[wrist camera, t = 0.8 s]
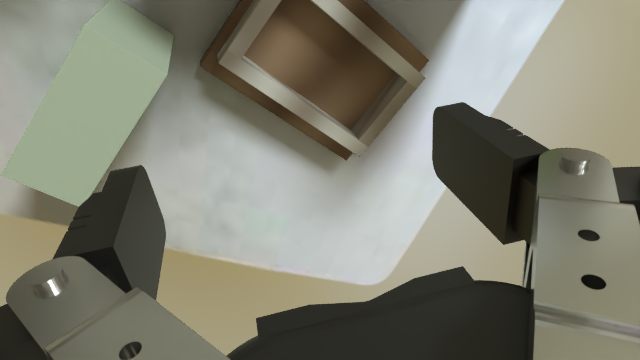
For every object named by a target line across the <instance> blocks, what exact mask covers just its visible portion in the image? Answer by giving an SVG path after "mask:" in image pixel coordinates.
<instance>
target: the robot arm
mask: <svg viewBox="0 0 640 360" xmlns="http://www.w3.org/2000/svg"><path fill="white" fill-rule="evenodd" d="M432 160H433V166H434V170H435V172H436V175H437V176H438V178H439V179H440V180H441V181H442V182H443V183H444V184H445V185H446V186H447V187H448V188H449V189H450V190H451V191H452V192H453V193H454V194H455V195H456V196H457V198H459V200H460V201H461V202H462V203H463V204H464V205H465V206H466V207H467V208H468V209H469V210H470V211H471V212H472V213H473V214H474V215H475V216H476V217H477V218H478V219H479V220H480V221H481V222H482V223H483V224H484V225H485V226H486V227H487V228H488V229H489V230H490V231H491V232H492V233H493V234H494V236H496V237H497V239H498V240H499V241H500V242H501V243H502V244H503V245H505V244H509V243H513V242H517V241H521V240H525V241H526V247H525V253H524V264H523V275H522V286H519V285H514V284H509V283H504V282H497V281H482V280H477V281H474V280H473V279H472V277H471V276H470V275H469V274H468V272H467V271H466V270H465V268H464V267H463V266H462V267H458V268H454V269H451V270H446V271H442V272H438V273H434V274H430V275H426V276H422V277H418V278H414V279H412V280H410V281H408V282H406V283H405V284H402V285H400V286H398V287H396V288H394V289H392V290H390V291H388V292H386V293H384V294H382V295H380V296H378V297H376V298H374V299H372V300H370V301H366V302H355V303H336V304H316V305H307V306H303V307H299V308H295V309H291V310H287V311H283V312H279V313H275V314H271V315H267V316H263V317H259V318H256V322H257V330H258V336H256V337H254V338H252V339H250V340H248V341H247V342H245V343H244V344H242V345H240V346H239V347H237V348H236V349H235V350H233V351H232V352H231V353H229V354H228V355H227V356H225V355H224V354H223V353H222V352H220V351H219V350H218V349H216V348H215V347H214V346H213V345H211V344H210V343H209V342H207V341H206V340H205V339H203V338H202V337H201V336H200V335H199V334H197V333H196V332H195V331H193V330H192V329H191V328H190V327H188V326H187V325H186V324H185V323H183V322H182V321H181V320H180V319H178V318H177V317H176V316H174V315H173V314H172V313H171V312H169V311H168V310H167V309H166V308H164V307H163V306H162V305H160V304H159V303H158V302H157V301H156V296H157V290H158V283H159V277H160V271H161V265H162V258H163V252H164V246H165V239H166V231H165V224H164V220H163V216H162V213H161V210H160V208H159V205H158V202H157V199H156V197H155V194H154V191H153V188H152V186H151V183H150V180H149V177H148V175H147V172H146V170H145V168H144V167H143V166H142V165H139V166H134V167H129V168H124V169H119V170H114V171H111V172H110V174H109V176H108V178H107V181H106V183H105V185H104V187H103V189H102V192H99V193H94V194H92V195H91V196H90V197H89V198H88V199H87V200H86V201H85V202H83V203H82V204H81V205H80V206H79V208H78V210H77V212H76V214H75V216H74V218H73V220H74V221H72V222H71V224H70V226H69V228H68V231H67V232H66V234H65V236H64V238H63V240H62V242H61V244H60V246H59V248H58V249H57V251H56V254H55V255H54V257H53V259H52V260H50V261H47V262H45V263H42V264H40V265H38V266H36V267H34V268H32V269H31V270H29V271H28V272H26V273H25V274H23V275H22V276H21V277H20V278H18V279H17V280H16V281H15V282H14V283H13V285H12V286H11V287H10V289H9V290H8V292H7V295H6V301H7V304H6V305H3V306H1V307H0V360H640V167H620V168H612V165H611V163H610V161H609V160H608V159H606V158H605V157H603V156H602V155H600V154H597V153H595V152H592V151H588V150H583V149H577V148H557V149H552V150H549V149H548V148H546V147H544V146H543V145H541V144H539V143H538V142H536V141H534V140H533V139H531V138H530V137H528V136H526V135H523V133H521V132H520V131H518V130H516V129H513V127H511V126H510V125H508V124H506V123H505V122H503V121H501V120H498V119H495V118H492V117H488V116H485V115H483V114H482V113H480V112H478V111H477V110H475V109H474V108H472V107H470V106H469V105H467V104H466V103H463V102H461V103H456V104H451V105H446V106H441V107H437V108H436V109H435V111H434V114H433V150H432Z"/></svg>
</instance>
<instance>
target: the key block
mask: <svg viewBox="0 0 640 360" xmlns="http://www.w3.org/2000/svg"><path fill="white" fill-rule="evenodd" d="M173 39H174V35H173V34H171V33H170V32H168V31H167V30H165V29H164V28H162V27H161V26H159V25H158V24H156V23H155V22H153V21H152V20H150V19H149V18H147V17H146V16H144V15H143V14H141V13H140V12H138V11H136V10H135V9H133V8H132V7H130V6H129V5H127V4H126V3H124V2H123V1H121V0H110V1H109V2H108V3H107V4H106V5H105V6H104V7H103V8H102V9H101V10H99V11H98V12H97V13H96V14H95V15H94V16H93V17H92V18H91V19H90V20H89V21H88V22H87V23H85V25H84V26H83V28H82V30H81V32H80V34H79V35H78V37H77V39H76V41H75V43H74V44H73V46H72V48H71V50H70V52H69V53H68V55H67V57H66V59H65V61H64V62H63V64H62V66H61V68H60V70H59V71H58V73H57V75H56V77H55V79H54V81H53V82H52V84H51V86H50V88H49V90H48V91H47V93H46V95H45V97H44V99H43V100H42V102H41V104H40V106H39V108H38V109H37V111H36V113H35V115H34V117H33V118H32V120H31V122H30V124H29V126H28V127H27V129H26V131H25V133H24V135H23V136H22V138H21V140H20V142H19V144H18V145H17V147H16V149H15V151H14V153H13V154H12V156H11V158H10V160H9V162H8V163H7V165H6V167H5V169H4V171H3V173H2V174H1V176H3V177H6V178H8V179H11V180H13V181H16V182H18V183H21V184H23V185H26V186H28V187H31V188H33V189H36V190H38V191H41V192H43V193H45V194H48V195H50V196H53V197H55V198H58V199H60V200H63V201H65V202H68V203H70V204H73V205H75V206H78V207H79V206H80V205H81V204H82V203H83V202H85V201H86V200H87V199H88V198H89V197H90V195H91V194H92V192H93V191H94V189H95V188H96V186H97V185H98V183H99V181H100V180H101V178H102V177H103V175H104V174H105V172H106V170H107V169H108V167H109V166H110V164H111V163H112V161H113V159H114V158H115V156H116V155H117V153H118V152H119V150H120V148H121V147H122V145H123V144H124V142H125V141H126V139H127V137H128V136H129V134H130V133H131V131H132V130H133V128H134V126H135V125H136V123H137V122H138V120H139V119H140V117H141V115H142V114H143V112H144V111H145V109H146V108H147V106H148V105H149V103H150V101H151V100H152V98H153V97H154V95H155V94H156V92H157V90H158V89H159V87H160V86H161V84H162V83H163V81H164V79H165V78H166V76H167V75H168V69H169V63H170V57H171V51H172V45H173Z"/></svg>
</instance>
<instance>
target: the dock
mask: <svg viewBox="0 0 640 360" xmlns="http://www.w3.org/2000/svg"><path fill="white" fill-rule="evenodd" d="M428 61H429V60H428V59H427V58H426V57H425V56H424V55H423V54H422V53H420V52H419V51H418V50H417V49H416V48H415V47H414V46H413V45H412V44H411V43H410V42H408V41H407V40H406V39H405V38H404V37H403V36H402V35H401V34H400V33H399V32H398V31H397V30H395V29H394V28H393V27H392V26H391V25H390V24H389V23H388V22H387V21H386V20H385V19H383V18H382V17H381V16H380V15H379V14H378V13H377V12H376V11H375V10H374V9H373V8H371V7H370V6H369V5H368V4H367V3H366V2H365V1H364V0H240V1H239V3H238V4H237V6H236V7H235V9H234V10H233V12H232V13H231V15H230V16H229V18H228V20H227V21H226V23H225V24H224V26H223V27H222V29H221V30H220V32H219V33H218V35H217V36H216V38H215V39H214V41H213V42H212V44H211V45H210V47H209V48H208V50H207V52H206V53H205V55H204V56H203V58H202V59H201V61H200V66H201V67H203V68H204V69H206V70H207V71H209V72H210V73H212V74H213V75H215V76H217V77H218V78H220V79H221V80H223V81H224V82H226V83H227V84H229V85H230V86H232V87H234V88H235V89H237V90H238V91H240V92H241V93H243V94H244V95H246V96H248V97H249V98H251V99H252V100H254V101H255V102H257V103H258V104H260V105H261V106H263V107H265V108H266V109H268V110H269V111H271V112H272V113H274V114H275V115H277V116H279V117H280V118H282V119H283V120H285V121H286V122H288V123H289V124H291V125H292V126H294V127H296V128H297V129H299V130H300V131H302V132H303V133H305V134H306V135H308V136H310V137H311V138H313V139H314V140H316V141H317V142H319V143H320V144H322V145H323V146H325V147H327V148H328V149H330V150H331V151H333V152H334V153H336V154H337V155H339V156H341V157H342V158H344V159H345V160H347V159H348V158H349V157H350V155H351V154H352V153H355V154H356V155H358V156H359V157H360V156H361V155H362V153H363V152H364V151H365V150H366V149H367V147H368V146H369V145H370V144H371V143H372V141H373V140H374V139H375V138H376V137H377V135H378V134H379V133H380V132H381V131H382V129H383V128H384V127H385V126H386V125H387V123H388V122H389V121H390V120H391V119H392V117H393V116H394V115H395V114H396V113H397V111H398V110H399V109H400V108H401V107H402V105H403V104H404V103H405V102H406V101H407V99H408V98H409V97H410V96H411V95H412V93H413V92H414V91H415V90H416V89H417V87H418V86H419V85H420V84H421V83H422V81H423V80H424V79H425V77H424V76H423V75H422V74H421V73H420V71H421V69H422V68H423V67H424V66H425V65H426V63H427V62H428Z"/></svg>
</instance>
